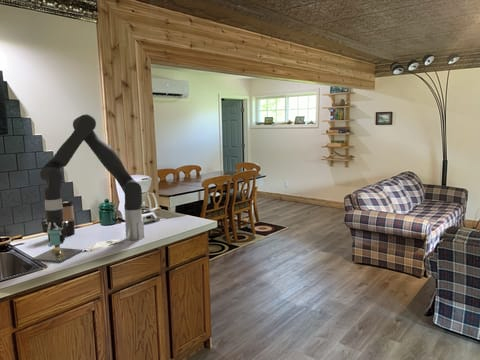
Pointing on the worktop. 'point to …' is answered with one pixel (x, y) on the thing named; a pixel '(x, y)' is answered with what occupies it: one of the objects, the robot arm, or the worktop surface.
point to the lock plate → (57, 255)
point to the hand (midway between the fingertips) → (56, 241)
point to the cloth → (102, 245)
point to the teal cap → (54, 237)
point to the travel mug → (68, 216)
